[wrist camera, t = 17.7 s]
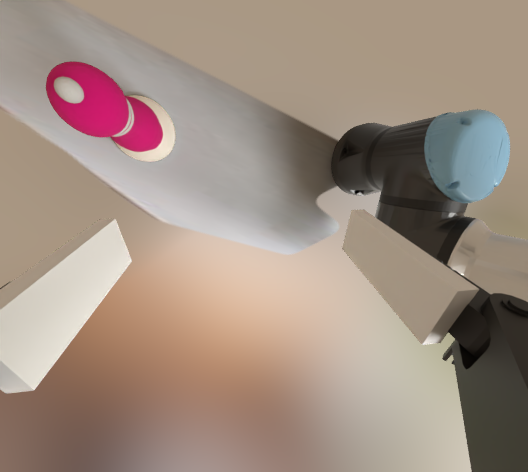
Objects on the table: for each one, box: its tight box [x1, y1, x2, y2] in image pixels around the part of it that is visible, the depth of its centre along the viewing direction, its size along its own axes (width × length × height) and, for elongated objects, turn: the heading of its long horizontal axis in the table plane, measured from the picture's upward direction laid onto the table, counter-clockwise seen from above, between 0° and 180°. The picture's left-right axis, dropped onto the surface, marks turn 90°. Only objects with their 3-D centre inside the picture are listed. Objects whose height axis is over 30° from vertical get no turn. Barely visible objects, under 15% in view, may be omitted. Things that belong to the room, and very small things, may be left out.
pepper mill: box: [46, 62, 163, 152], centre depth 25 cm, size 7×7×20 cm
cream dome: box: [114, 95, 176, 162], centre depth 34 cm, size 10×10×1 cm
